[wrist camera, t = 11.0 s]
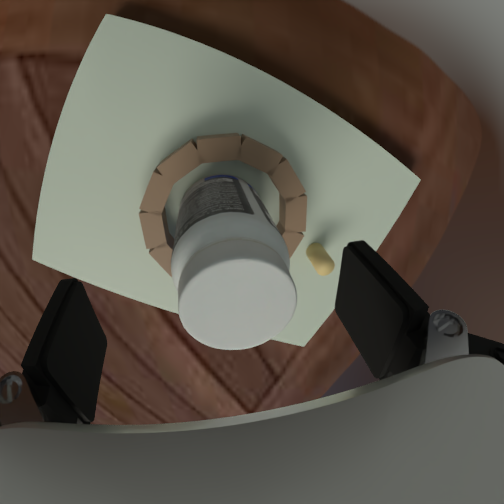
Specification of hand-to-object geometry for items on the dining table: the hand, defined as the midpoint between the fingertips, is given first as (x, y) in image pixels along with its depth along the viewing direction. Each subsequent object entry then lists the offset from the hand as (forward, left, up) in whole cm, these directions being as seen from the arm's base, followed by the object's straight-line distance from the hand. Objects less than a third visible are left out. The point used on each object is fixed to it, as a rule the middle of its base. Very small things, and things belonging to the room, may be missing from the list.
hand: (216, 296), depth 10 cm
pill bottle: (+1, 0, -8) cm, 8 cm away
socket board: (+1, 0, -9) cm, 9 cm away
